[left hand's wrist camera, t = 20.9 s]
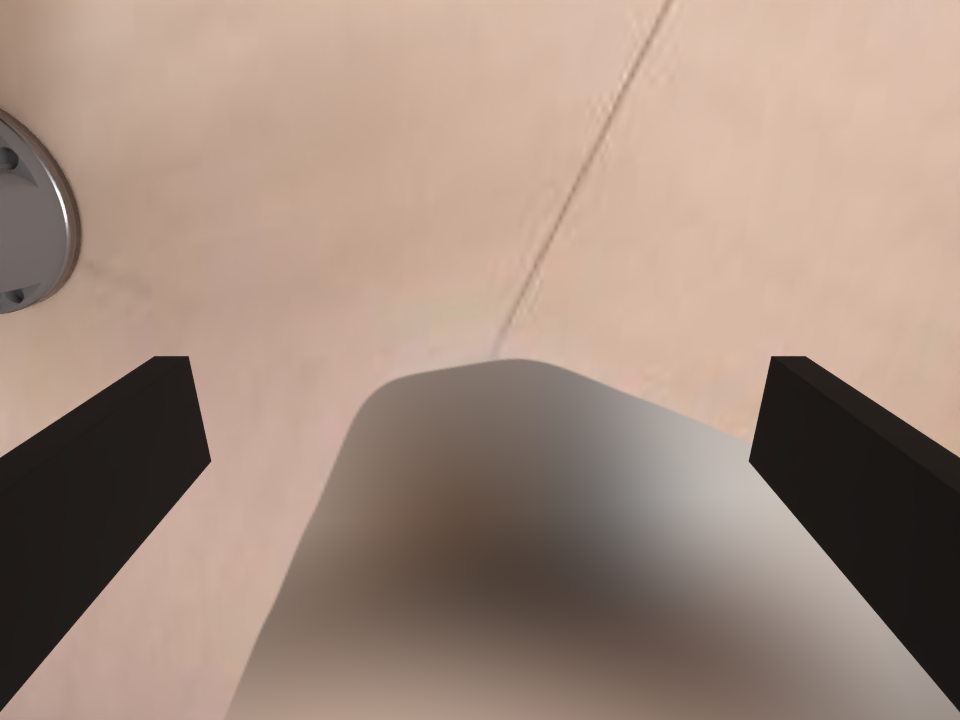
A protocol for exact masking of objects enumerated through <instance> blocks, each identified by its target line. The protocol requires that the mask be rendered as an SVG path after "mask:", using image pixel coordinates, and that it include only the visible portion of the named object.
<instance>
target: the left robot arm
mask: <svg viewBox="0 0 960 720" xmlns="http://www.w3.org/2000/svg"><path fill="white" fill-rule="evenodd" d="M80 243H81V227H80V219H79V213H78V209H77V205H76V202H75V199H74V196H73V193H72V190H71V188H70V186H69V184H68V181H67V179H66V178H65V176H64V174H63V172H62V170H61V169H60V167H59V165H58V164H57V162H56V161H55V159H54V158H53V157H52V155H51V154H50V153H49V151H48V150H47V149H46V148H45V146H44V145H43V144H42V143H41V142H40V141H39V140H38V139H37V138H36V137H35V136H34V135H33V134H32V133H31V132H30V131H29V130H28V129H27V128H26V127H25V126H24V125H23V124H21V123H20V122H19V121H18V120H16V119H15V118H14V117H12V116H11V115H10V114H8V113H7V112H5V111H3V110H2V109H0V314H4V313H10V312H14V311H17V310H21V309H24V308H26V307H29V306H32V305H35V304H37V303H39V302H42V301H44V300H45V299H47V298H49V297H51V296H52V295H53V294H55V293H56V292H57V291H58V290H59V289H60V288H61V287H62V286H63V285H64V284H65V283H66V281H67V280H68V279H69V277H70V275H71V274H72V272H73V270H74V267H75V265H76V262H77V259H78V256H79V250H80ZM210 462H211V458H210V453H209V449H208V444H207V439H206V435H205V430H204V425H203V421H202V416H201V412H200V407H199V402H198V398H197V393H196V389H195V384H194V379H193V375H192V370H191V365H190V361H189V356H154V357H153V358H151V359H150V360H148V361H147V362H145V363H144V364H142V365H141V366H139V367H137V368H136V369H134V370H133V371H131V372H130V373H128V374H127V375H125V376H124V377H122V378H121V379H119V380H118V381H116V382H115V383H113V384H112V385H110V386H109V387H107V388H106V389H104V390H103V391H101V392H99V393H98V394H96V395H95V396H93V397H92V398H90V399H89V400H87V401H86V402H84V403H83V404H81V405H80V406H78V407H77V408H75V409H74V410H72V411H71V412H69V413H68V414H66V415H65V416H63V417H61V418H60V419H58V420H57V421H55V422H54V423H52V424H51V425H49V426H48V427H46V428H45V429H43V430H42V431H40V432H39V433H37V434H36V435H34V436H33V437H31V438H30V439H28V440H27V441H25V442H23V443H22V444H20V445H19V446H17V447H16V448H14V449H13V450H11V451H10V452H8V453H7V454H5V455H4V456H2V457H1V458H0V712H1V710H2V709H3V708H4V707H5V706H6V704H7V703H8V702H9V701H10V700H11V699H12V697H13V696H14V695H15V694H16V693H17V691H18V690H19V689H20V688H21V687H22V685H23V684H24V683H25V682H26V681H27V680H28V678H29V677H30V676H31V675H32V674H33V672H34V671H35V670H36V669H37V668H38V666H39V665H40V664H41V663H42V662H43V661H44V659H45V658H46V657H47V656H48V655H49V653H50V652H51V651H52V650H53V649H54V647H55V646H56V645H57V644H58V643H59V642H60V640H61V639H62V638H63V637H64V636H65V634H66V633H67V632H68V631H69V630H70V628H71V627H72V626H73V625H74V624H75V623H76V621H77V620H78V619H79V618H80V617H81V615H82V614H83V613H84V612H85V611H86V609H87V608H88V607H89V606H90V605H91V604H92V602H93V601H94V600H95V599H96V598H97V596H98V595H99V594H100V593H101V592H102V590H103V589H104V588H105V587H106V586H107V585H108V583H109V582H110V581H111V580H112V579H113V577H114V576H115V575H116V574H117V573H118V571H119V570H120V569H121V568H122V567H123V566H124V564H125V563H126V562H127V561H128V560H129V558H130V557H131V556H132V555H133V554H134V552H135V551H136V550H137V549H138V548H139V547H140V545H141V544H142V543H143V542H144V541H145V539H146V538H147V537H148V536H149V535H150V533H151V532H152V531H153V530H154V529H155V528H156V526H157V525H158V524H159V523H160V522H161V520H162V519H163V518H164V517H165V516H166V514H167V513H168V512H169V511H170V510H171V509H172V507H173V506H174V505H175V504H176V503H177V501H178V500H179V499H180V498H181V497H182V495H183V494H184V493H185V492H186V491H187V490H188V488H189V487H190V486H191V485H192V484H193V482H194V481H195V480H196V479H197V478H198V476H199V475H200V474H201V473H202V472H203V471H204V469H205V468H206V467H207V466H208V465H209V463H210ZM749 462H750V463H751V465H752V466H753V467H754V468H755V469H756V471H757V472H758V473H759V474H760V475H761V476H762V478H763V479H764V480H765V481H766V482H767V484H768V485H769V486H770V487H771V488H772V490H773V491H774V492H775V493H776V494H777V495H778V497H779V498H780V499H781V500H782V501H783V503H784V504H785V505H786V506H787V507H788V509H789V510H790V511H791V512H792V513H793V514H794V516H795V517H796V518H797V519H798V520H799V522H800V523H801V524H802V525H803V526H804V528H805V529H806V530H807V531H808V532H809V533H810V535H811V536H812V537H813V538H814V539H815V541H816V542H817V543H818V544H819V545H820V546H821V548H822V549H823V550H824V551H825V552H826V554H827V555H828V556H829V557H830V558H831V560H832V561H833V562H834V563H835V564H836V566H837V567H838V568H839V569H840V570H841V571H842V573H843V574H844V575H845V576H846V577H847V579H848V580H849V581H850V582H851V583H852V585H853V586H854V587H855V588H856V589H857V590H858V592H859V593H860V594H861V595H862V596H863V598H864V599H865V600H866V601H867V602H868V603H869V605H870V606H871V607H872V608H873V609H874V611H875V612H876V613H877V614H878V615H879V617H880V618H881V619H882V620H883V621H884V623H885V624H886V625H887V626H888V627H889V628H890V630H891V631H892V632H893V633H894V634H895V636H896V637H897V638H898V639H899V640H900V642H901V643H902V644H903V645H904V646H905V647H906V649H907V650H908V651H909V652H910V653H911V654H912V656H913V657H914V658H915V659H916V661H917V662H918V663H919V664H920V665H921V666H922V668H923V669H924V670H925V671H926V672H927V673H928V675H929V676H930V677H931V678H932V679H933V681H934V682H935V683H936V684H937V685H938V687H939V688H940V689H941V690H942V691H943V693H944V694H945V695H946V696H947V697H948V699H949V700H950V701H951V702H952V703H953V704H954V706H955V707H956V708H957V709H958V710H959V712H960V458H959V457H958V456H956V455H955V454H953V453H952V452H950V451H949V450H947V449H946V448H944V447H943V446H941V445H940V444H938V443H937V442H935V441H933V440H932V439H930V438H929V437H927V436H926V435H924V434H923V433H921V432H920V431H918V430H917V429H915V428H914V427H912V426H911V425H909V424H908V423H906V422H905V421H903V420H902V419H900V418H899V417H897V416H895V415H894V414H892V413H891V412H889V411H888V410H886V409H885V408H883V407H882V406H880V405H879V404H877V403H876V402H874V401H873V400H871V399H870V398H868V397H867V396H865V395H864V394H862V393H861V392H859V391H857V390H856V389H854V388H853V387H851V386H850V385H848V384H847V383H845V382H844V381H842V380H841V379H839V378H838V377H836V376H835V375H833V374H832V373H830V372H829V371H827V370H826V369H824V368H823V367H821V366H819V365H818V364H816V363H815V362H813V361H812V360H810V359H809V358H807V357H806V356H771V361H770V365H769V370H768V375H767V379H766V384H765V388H764V393H763V398H762V402H761V407H760V412H759V416H758V421H757V425H756V430H755V435H754V439H753V444H752V449H751V453H750V458H749Z"/></svg>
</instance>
